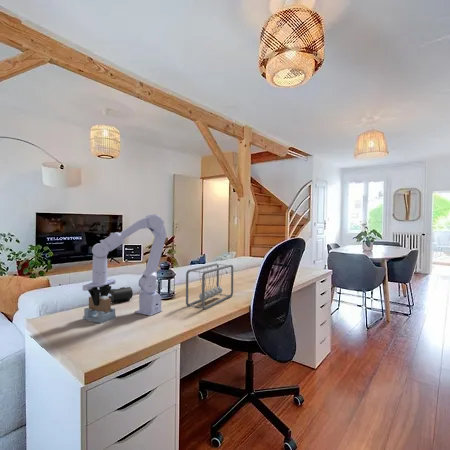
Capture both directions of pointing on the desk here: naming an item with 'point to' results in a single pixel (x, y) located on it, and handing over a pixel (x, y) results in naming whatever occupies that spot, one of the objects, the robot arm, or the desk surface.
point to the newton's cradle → (211, 292)
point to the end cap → (120, 294)
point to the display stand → (99, 315)
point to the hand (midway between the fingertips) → (99, 304)
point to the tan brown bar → (101, 304)
